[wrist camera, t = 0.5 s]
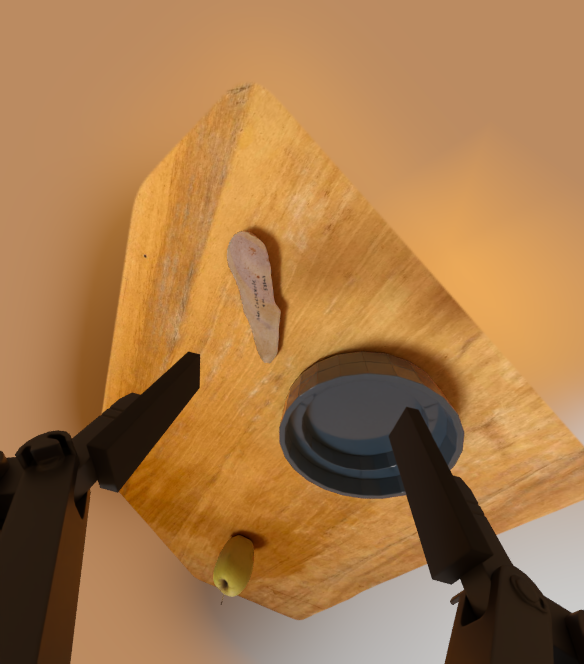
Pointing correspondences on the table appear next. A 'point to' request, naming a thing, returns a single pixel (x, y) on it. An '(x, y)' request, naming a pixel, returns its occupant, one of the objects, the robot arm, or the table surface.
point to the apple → (234, 566)
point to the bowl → (361, 422)
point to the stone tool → (256, 290)
